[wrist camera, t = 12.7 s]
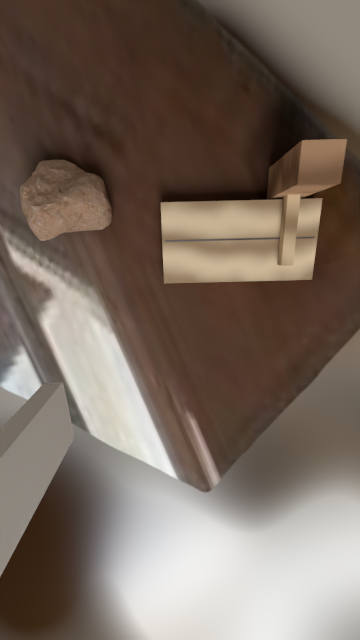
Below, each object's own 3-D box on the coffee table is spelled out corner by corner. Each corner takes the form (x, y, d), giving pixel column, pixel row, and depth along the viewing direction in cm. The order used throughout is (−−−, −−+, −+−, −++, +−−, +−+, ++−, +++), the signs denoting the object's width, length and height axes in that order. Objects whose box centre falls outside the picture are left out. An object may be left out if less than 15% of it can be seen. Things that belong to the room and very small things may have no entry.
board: (161, 205, 39) (160, 202, 37) (313, 201, 39) (322, 198, 37) (164, 281, 43) (164, 283, 40) (304, 277, 43) (312, 279, 40)
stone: (42, 226, 42) (33, 258, 35) (7, 165, 35) (-12, 190, 28) (114, 209, 43) (119, 237, 36) (94, 146, 36) (95, 166, 29)
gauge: (269, 164, 37) (302, 134, 27) (302, 163, 37) (347, 133, 27) (262, 263, 42) (288, 270, 32) (291, 263, 42) (327, 269, 32)
